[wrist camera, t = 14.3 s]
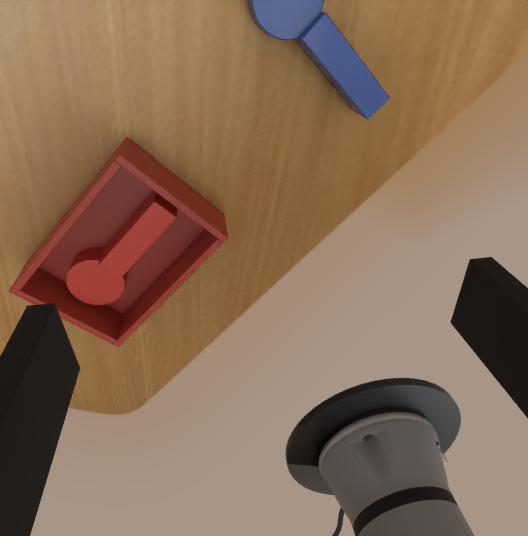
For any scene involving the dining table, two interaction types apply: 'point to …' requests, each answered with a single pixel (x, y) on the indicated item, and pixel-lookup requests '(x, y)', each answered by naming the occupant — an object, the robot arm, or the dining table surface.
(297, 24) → the blue spoon
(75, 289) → the red spoon
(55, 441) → the robot arm
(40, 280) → the red bin
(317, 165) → the dining table surface
